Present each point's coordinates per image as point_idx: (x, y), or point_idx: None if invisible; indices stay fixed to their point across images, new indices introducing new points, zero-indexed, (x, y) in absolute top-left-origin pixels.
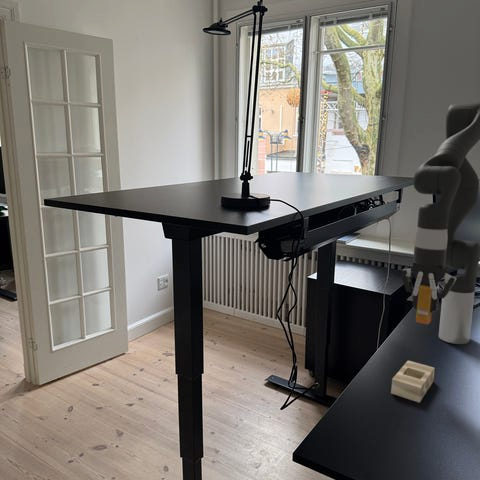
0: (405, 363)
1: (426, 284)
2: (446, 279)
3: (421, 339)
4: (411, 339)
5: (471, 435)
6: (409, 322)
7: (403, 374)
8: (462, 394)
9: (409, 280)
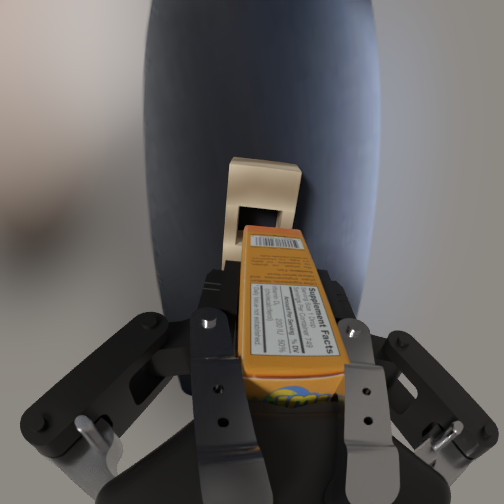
0: (228, 185)
1: (278, 401)
2: (426, 462)
3: None
4: None
5: (354, 308)
6: None
7: (237, 246)
8: (355, 193)
9: (126, 400)
